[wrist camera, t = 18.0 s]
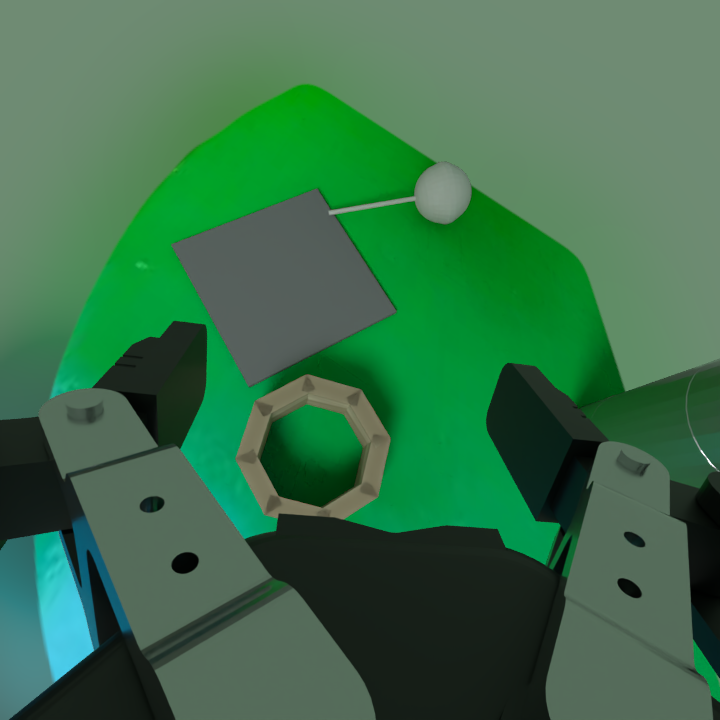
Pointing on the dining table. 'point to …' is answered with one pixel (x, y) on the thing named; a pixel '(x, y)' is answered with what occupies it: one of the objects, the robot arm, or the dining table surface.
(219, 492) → the dining table surface
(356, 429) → the octagonal ring
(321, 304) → the mat
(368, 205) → the lollipop
